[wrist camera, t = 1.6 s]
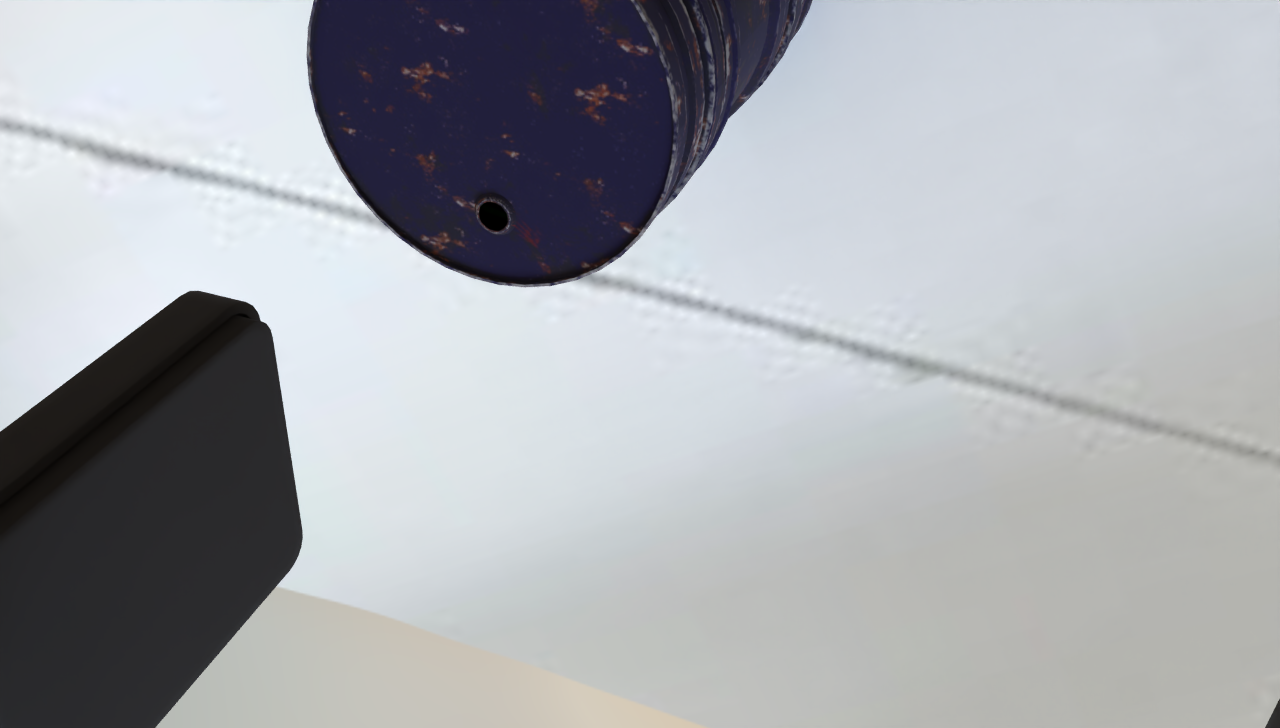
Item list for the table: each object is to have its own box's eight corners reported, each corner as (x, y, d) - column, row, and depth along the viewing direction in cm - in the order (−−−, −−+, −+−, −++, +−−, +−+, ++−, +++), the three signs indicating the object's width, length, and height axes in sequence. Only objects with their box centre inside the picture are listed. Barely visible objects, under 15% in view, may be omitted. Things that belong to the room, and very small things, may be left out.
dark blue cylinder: (536, -219, 39) (270, -128, 28) (836, -206, 36) (684, -96, 25) (550, 78, 45) (334, 260, 33) (812, 110, 42) (679, 322, 30)
